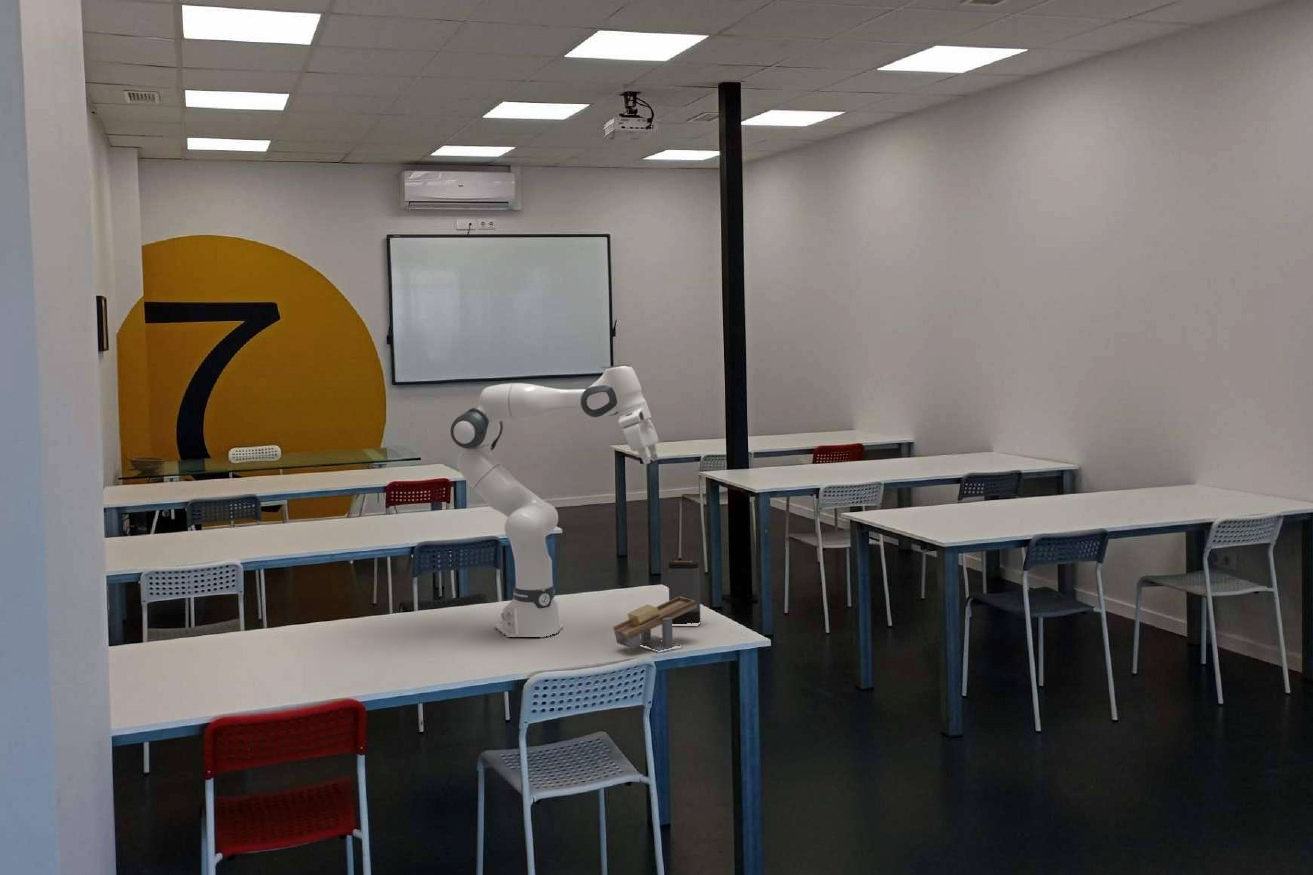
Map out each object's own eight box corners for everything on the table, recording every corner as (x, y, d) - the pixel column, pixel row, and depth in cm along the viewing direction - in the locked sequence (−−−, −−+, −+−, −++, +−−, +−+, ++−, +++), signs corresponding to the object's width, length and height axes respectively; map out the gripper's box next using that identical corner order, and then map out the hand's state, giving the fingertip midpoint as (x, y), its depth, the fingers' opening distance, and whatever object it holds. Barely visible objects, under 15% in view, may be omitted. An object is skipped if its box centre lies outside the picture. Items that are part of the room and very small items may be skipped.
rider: (630, 624, 320) (627, 613, 319) (649, 615, 324) (647, 604, 323) (640, 628, 316) (637, 616, 315) (659, 618, 319) (657, 607, 319)
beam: (617, 642, 319) (613, 626, 318) (682, 611, 332) (679, 596, 331) (633, 648, 313) (629, 632, 312) (699, 616, 326) (695, 600, 325)
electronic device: (700, 622, 349) (699, 558, 347) (699, 627, 343) (698, 562, 341) (670, 622, 350) (669, 558, 348) (669, 627, 344) (667, 562, 342)
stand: (632, 643, 325) (631, 613, 325) (654, 639, 330) (654, 608, 329) (658, 653, 315) (658, 621, 314) (681, 648, 320) (680, 616, 319)
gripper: (635, 418, 338) (650, 461, 338) (616, 423, 318) (632, 469, 318) (654, 411, 336) (669, 454, 336) (636, 415, 317) (653, 462, 317)
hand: (651, 462), depth 327 cm, fingers open, 8 cm apart
